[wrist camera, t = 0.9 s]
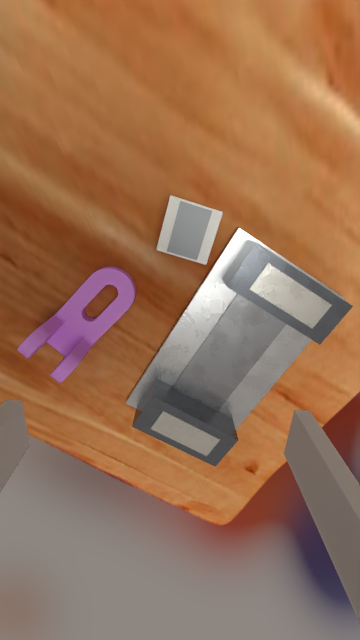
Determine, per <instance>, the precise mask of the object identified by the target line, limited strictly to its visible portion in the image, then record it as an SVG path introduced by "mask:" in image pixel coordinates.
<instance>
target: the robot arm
mask: <svg viewBox="0 0 360 640" xmlns="http://www.w3.org/2000/svg"><path fill="white" fill-rule="evenodd" d="M29 446H30V443H29V438H28V432H27V427H26V421H25V415H24V410H23V404H22V401H16V400H5V401H4V402H3V403H2V404H1V406H0V492H1V491H2V489H3V488H4V486H5V484H6V483H7V481H8V480H9V478H10V476H11V475H12V473H13V472H14V470H15V468H16V467H17V465H18V463H19V462H20V460H21V458H22V457H23V456H24V454H25V453H26V451H27V449H28V448H29ZM284 454H285V457H286V459H287V461H288V463H289V465H290V468H291V470H292V472H293V474H294V477H295V479H296V481H297V483H298V486H299V488H300V490H301V492H302V495H303V497H304V499H305V501H306V504H307V506H308V508H309V510H310V512H311V515H312V517H313V519H314V521H315V524H316V526H317V528H318V530H319V533H320V535H321V537H322V539H323V542H324V544H325V546H326V548H327V550H328V553H329V555H330V557H331V559H332V562H333V564H334V566H335V568H336V571H337V573H338V575H339V577H340V580H341V582H342V584H343V586H344V589H345V591H346V593H347V595H348V597H349V600H350V602H351V604H352V607H353V609H354V611H355V613H356V615H357V618H358V620H359V622H360V484H359V483H358V482H357V480H356V479H355V477H354V476H353V474H352V473H351V471H350V470H349V468H348V467H347V465H346V464H345V462H344V461H343V459H342V458H341V456H340V455H339V453H338V452H337V450H336V449H335V447H334V446H333V445H332V443H331V442H330V440H329V439H328V437H327V436H326V434H325V433H324V431H323V430H322V428H321V427H320V425H319V424H318V422H317V421H316V419H315V418H314V416H313V415H312V413H311V412H310V411H301V410H294V414H293V418H292V422H291V426H290V431H289V435H288V439H287V443H286V447H285V451H284Z"/></svg>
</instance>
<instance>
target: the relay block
mask: <svg viewBox="0 0 360 640" xmlns="http://www.w3.org/2000/svg"><path fill="white" fill-rule="evenodd" d="M222 214H223V212H221V211H218V210H215V209H212V208H209V207H206V206H202V205H199V204H196V203H193V202H190V201H187V200H184V199H180V198H177V197H174V196H171V195H170V199H169V203H168V207H167V210H166V214H165V218H164V222H163V226H162V230H161V234H160V238H159V241H158V245H157V249H156V250H158V251H161V252H164V253H168V254H171V255H174V256H178V257H181V258H184V259H188V260H191V261H194V262H198V263H201V264H204V265H206V264H207V260H208V257H209V254H210V251H211V248H212V245H213V242H214V239H215V236H216V233H217V229H218V226H219V223H220V220H221V217H222Z"/></svg>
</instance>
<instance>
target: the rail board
mask: <svg viewBox="0 0 360 640" xmlns="http://www.w3.org/2000/svg"><path fill="white" fill-rule="evenodd" d="M352 307H353V306H352V305H350V304H349V303H347V302H346V301H345V298H343V297H342V296H340V295H339V294H337V293H336V292H334V291H333V290H331V289H330V288H328V287H327V286H325V285H324V284H322V283H321V282H319V281H318V280H316V279H315V278H313V277H312V276H311V275H309V274H308V273H306V272H305V271H303V270H302V269H300V268H299V267H297V266H296V265H294V264H293V263H291V262H290V261H288V260H287V259H285V258H284V257H282V256H281V255H279V254H278V253H276V252H275V251H273V250H272V249H270V248H269V247H267V246H266V245H264V244H263V243H261V242H260V241H258V240H257V239H255V238H254V237H252V236H251V235H249V234H248V233H246V232H245V231H243V230H242V229H240V228H238V227H237V229H236V230H235V232H234V233H233V235H232V237H231V238H230V240H229V241H228V243H227V244H226V246H225V247H224V249H223V251H222V252H221V254H220V255H219V257H218V258H217V260H216V261H215V263H214V264H213V266H212V268H211V269H210V271H209V272H208V274H207V275H206V277H205V278H204V280H203V282H202V283H201V285H200V286H199V288H198V289H197V291H196V292H195V294H194V295H193V297H192V299H191V300H190V302H189V303H188V305H187V306H186V308H185V309H184V311H183V313H182V314H181V316H180V317H179V319H178V320H177V322H176V323H175V325H174V326H173V328H172V330H171V331H170V333H169V334H168V336H167V337H166V339H165V340H164V342H163V344H162V345H161V347H160V348H159V350H158V351H157V353H156V354H155V356H154V357H153V359H152V361H151V362H150V364H149V365H148V367H147V368H146V370H145V371H144V373H143V375H142V376H141V378H140V379H139V381H138V382H137V384H136V385H135V387H134V388H133V390H132V392H131V393H130V395H129V396H128V398H127V400H126V404H128V405H130V406H132V407H134V408H136V413H135V417H134V421H133V425H132V427H134V428H137V429H139V430H141V431H143V432H145V433H147V434H149V435H151V436H153V437H155V438H157V439H159V440H161V441H163V442H166V443H168V444H170V445H172V446H174V447H176V448H178V449H180V450H182V451H184V452H186V453H188V454H190V455H192V456H194V457H197V458H199V459H201V460H203V461H205V462H207V463H209V464H211V465H213V466H216V465H217V464H218V463H219V462H220V461H221V459H222V458H223V457H224V456H225V455H226V454H227V452H228V451H229V450H230V449H231V448H232V447H233V445H234V444H235V443H236V442H237V441H238V437H237V433H236V429H237V428H238V427H239V425H240V424H241V423H242V422H243V421H244V420H245V418H246V417H247V416H248V415H249V414H250V412H251V411H252V410H253V409H254V408H255V406H256V405H257V404H258V403H259V402H260V400H261V399H262V398H263V397H264V396H265V395H266V393H267V392H268V391H269V390H270V389H271V387H272V386H273V385H274V384H275V383H276V381H277V380H278V379H279V378H280V377H281V376H282V374H283V373H284V372H285V371H286V370H287V368H288V367H289V366H290V365H291V364H292V362H293V361H294V360H295V359H296V358H297V356H298V355H299V354H300V353H301V352H302V351H303V349H304V348H305V347H306V346H307V345H308V343H309V342H310V341H311V340H313V341H315V342H317V343H318V344H321V343H322V342H323V340H324V339H325V338H326V337H327V336H328V335H329V333H330V332H331V331H332V330H333V329H334V328H335V326H336V325H337V324H338V323H339V322H340V321H341V319H342V318H343V317H344V316H345V315H346V314H347V312H348V311H349V310H350V309H351V308H352Z"/></svg>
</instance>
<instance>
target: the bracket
mask: <svg viewBox="0 0 360 640" xmlns="http://www.w3.org/2000/svg"><path fill="white" fill-rule="evenodd" d="M106 285H113V286H115V287H116V288H117V290H118V296H117V298H116V299H115V300H114V301H113V302H112V303H111V304H110V305H109V306H108V307H107V308H106V309H105V310H104V311H103V312H102V313H101V314H100V315H99V316H98V317H97V318H90V317H88V316H87V315H86V313H85V307H86V306H87V305H88V304H89V303H90V302H91V301H92V299H93V298H94V297H95V296H96V295H97V294H98V293H99V292H100V291H101V290H102V289H103V288H104V287H105V286H106ZM135 296H136V286H135V283H134V281H133V279H132V277H131V276H130V275H129V274H128V273H127V272H126V271H124V270H123V269H121V268H118V267H113V266H108V267H103V268H101V269H99V270H97V271H96V272H94V273H93V274H92V275H91V276H90V277H89V278H88V279H87V280H86V281H85V283H84V284H83V285H82V286H81V287H80V288H79V289H78V290H77V291H76V292H75V294H74V295H73V296H72V297H71V298H70V299H69V300H68V301H67V302H66V303H65V305H64V306H63V307H62V308H61V309H60V310H59V311H58V312H57V313H56V314H55V315H54V316H53V317H51V318H50V319H49V320H47V321H46V322H45V323H43V324H42V325H41V326H39V327H38V328H37V329H36V330H35V331H34V332H33V333H32V334H31V335H29V336H28V337H27V338H26V339H25V341H24V342H23V343H22V344H21V345H20V346H19V347H18V349H17V351H19V352H20V353H21V354H23V355H24V356H25V357H27V358H30V357H31V356H32V355H33V354H34V353H35V352H36V351H37V350H38V349H40V348H41V347H42V346H43V345H44V344H45V343H46V342H47V343H49V344H50V345H51V346H52V347H54V348H55V349H56V350H57V351H59V352H60V353H61V354H62V355H64V356H65V357H64V358H63V360H62V361H61V362H60V363H59V364H58V365H57V367H56V368H55V369H54V370H53V371H52V373H51V374H50V376H51V377H53V378H54V379H55V380H56V381H58V382H59V383H61V382H62V381H64V380H65V379H66V378H67V377H68V376H69V375H70V373H71V372H72V371H73V370H74V369H75V368H76V367H77V366H78V364H79V363H80V362H81V361H82V359H83V358H84V356H85V355H86V354H87V352H88V351H89V349H90V348H91V347H92V345H93V344H94V343H95V342H96V341H97V340H98V339H99V338H100V337H101V336H102V335H103V334H104V333H105V332H106V331H107V330H108V329H109V328H110V327H111V326H112V325H113V324H114V323H115V322H116V321H117V320H118V319H119V318H120V317H121V316H122V315H123V314H124V313H125V312H126V311H127V310H128V309H129V308H130V307H131V305H132V303H133V302H134V299H135Z"/></svg>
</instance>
